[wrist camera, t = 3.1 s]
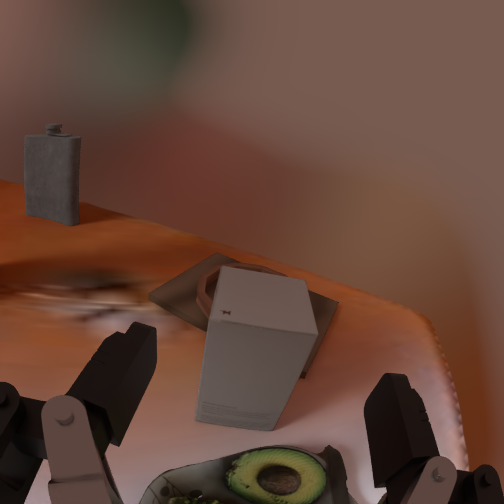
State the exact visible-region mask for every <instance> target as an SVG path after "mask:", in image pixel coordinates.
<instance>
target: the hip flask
mask: <svg viewBox="0 0 504 504" xmlns="http://www.w3.org/2000/svg"><path fill="white" fill-rule="evenodd" d="M60 128H62V124H58V123H56V124H55V123H53V124H47V125H46V129H47V131H46V134H47V135H27V136H25V146H24V148H25V149H24V186H25V205H26V215H28V216H34V217H40V218H45V219H49V220H53V221H56V222H59V223H62V224H64V225H67V226H75V225H78V224H79V165H80V148H81V137H79V136H72V135H71V134H65V133H61V130H60Z"/></svg>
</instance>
